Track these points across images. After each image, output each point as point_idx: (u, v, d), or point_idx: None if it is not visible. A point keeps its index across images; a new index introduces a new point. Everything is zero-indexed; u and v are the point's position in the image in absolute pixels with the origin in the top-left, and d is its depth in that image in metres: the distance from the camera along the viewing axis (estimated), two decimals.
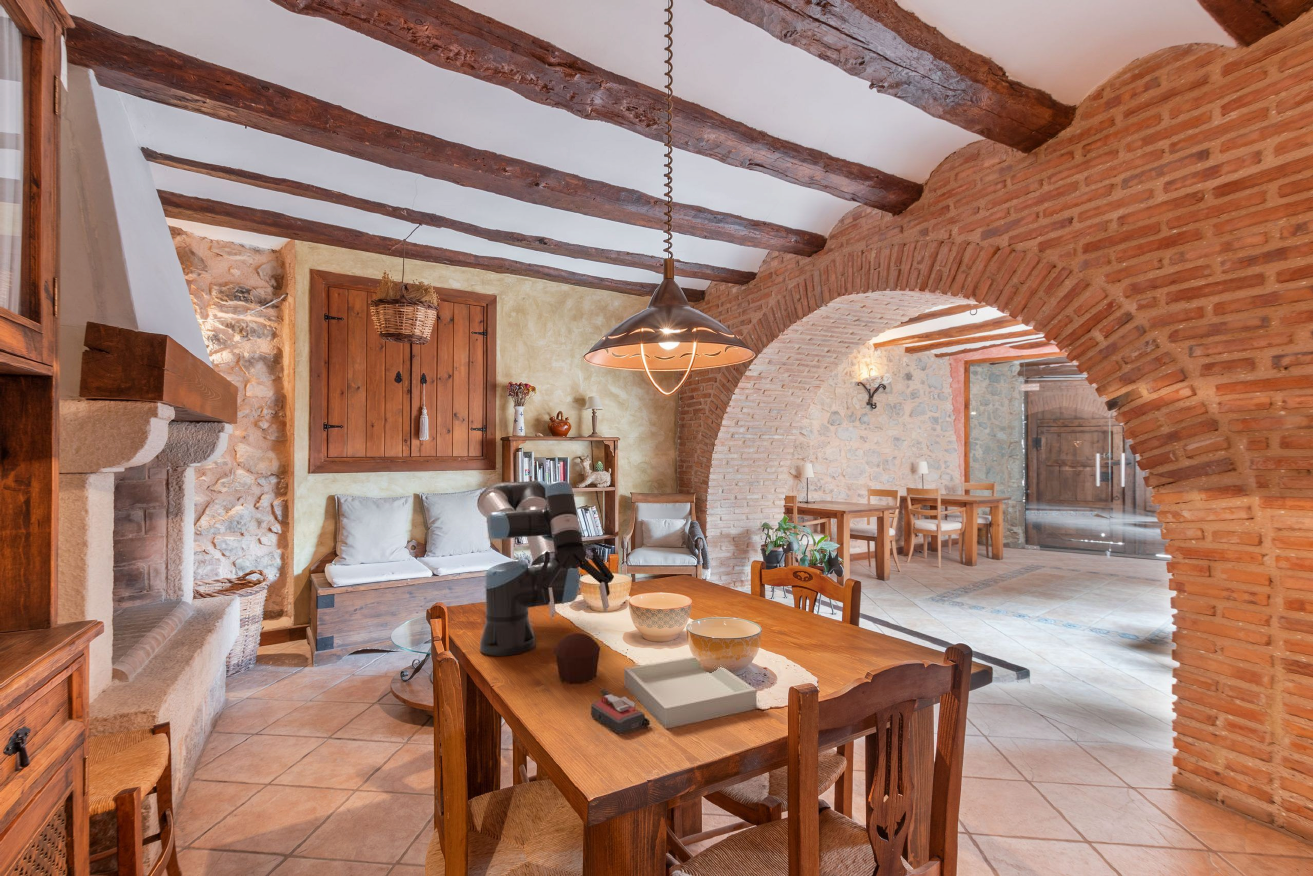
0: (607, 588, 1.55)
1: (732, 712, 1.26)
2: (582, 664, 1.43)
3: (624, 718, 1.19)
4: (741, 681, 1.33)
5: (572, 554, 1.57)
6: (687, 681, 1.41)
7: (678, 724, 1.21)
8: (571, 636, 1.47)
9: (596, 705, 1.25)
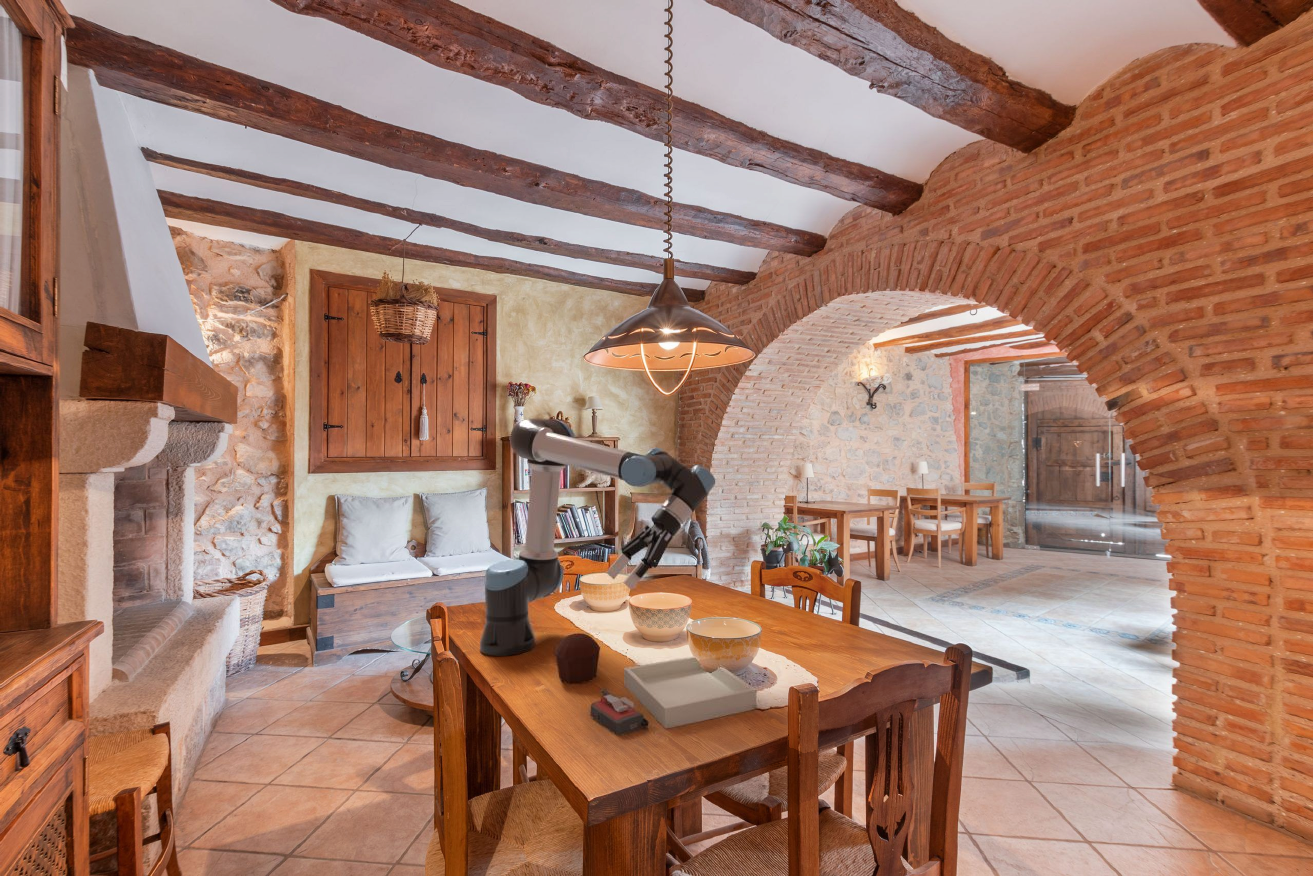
0: None
1: (732, 712, 1.26)
2: (582, 664, 1.43)
3: (623, 719, 1.19)
4: (741, 681, 1.33)
5: None
6: (687, 681, 1.41)
7: (678, 724, 1.21)
8: (571, 636, 1.47)
9: (595, 705, 1.25)
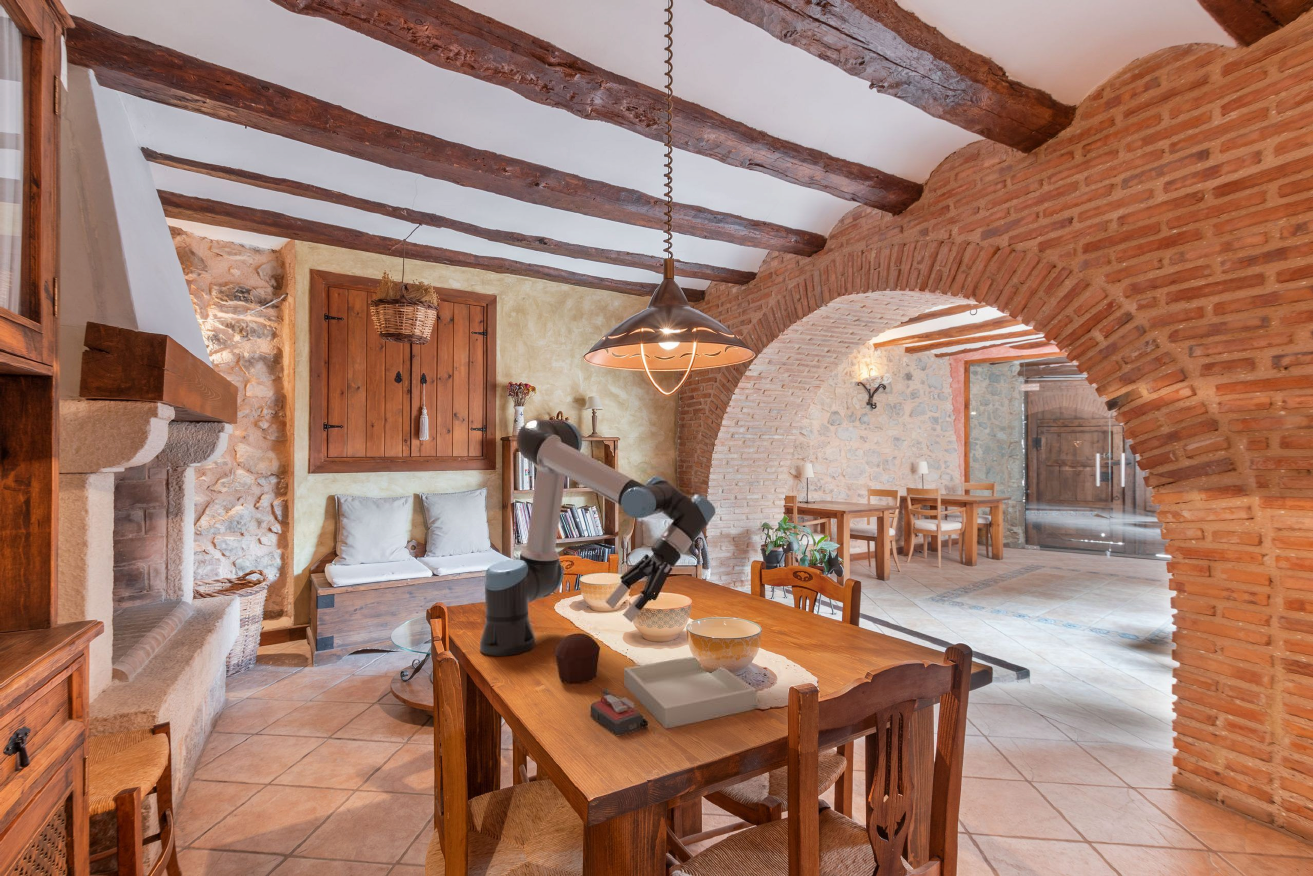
0: None
1: (732, 712, 1.26)
2: (582, 664, 1.43)
3: (622, 719, 1.18)
4: (741, 681, 1.33)
5: None
6: (687, 681, 1.41)
7: (678, 724, 1.21)
8: (571, 636, 1.47)
9: (595, 705, 1.25)
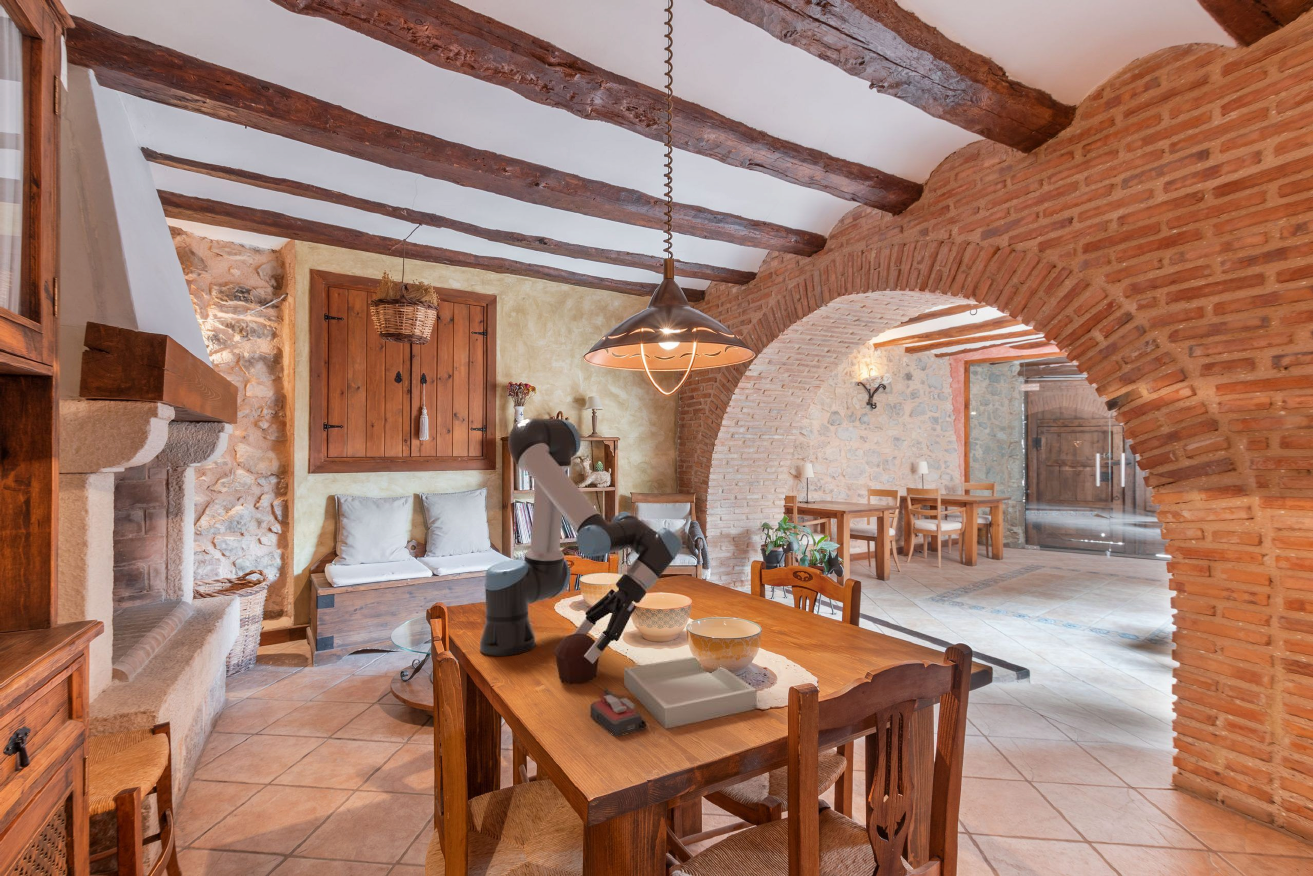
0: None
1: (732, 712, 1.26)
2: (582, 664, 1.43)
3: (620, 719, 1.18)
4: (741, 681, 1.33)
5: None
6: (687, 681, 1.41)
7: (678, 724, 1.21)
8: (571, 636, 1.47)
9: (595, 705, 1.25)
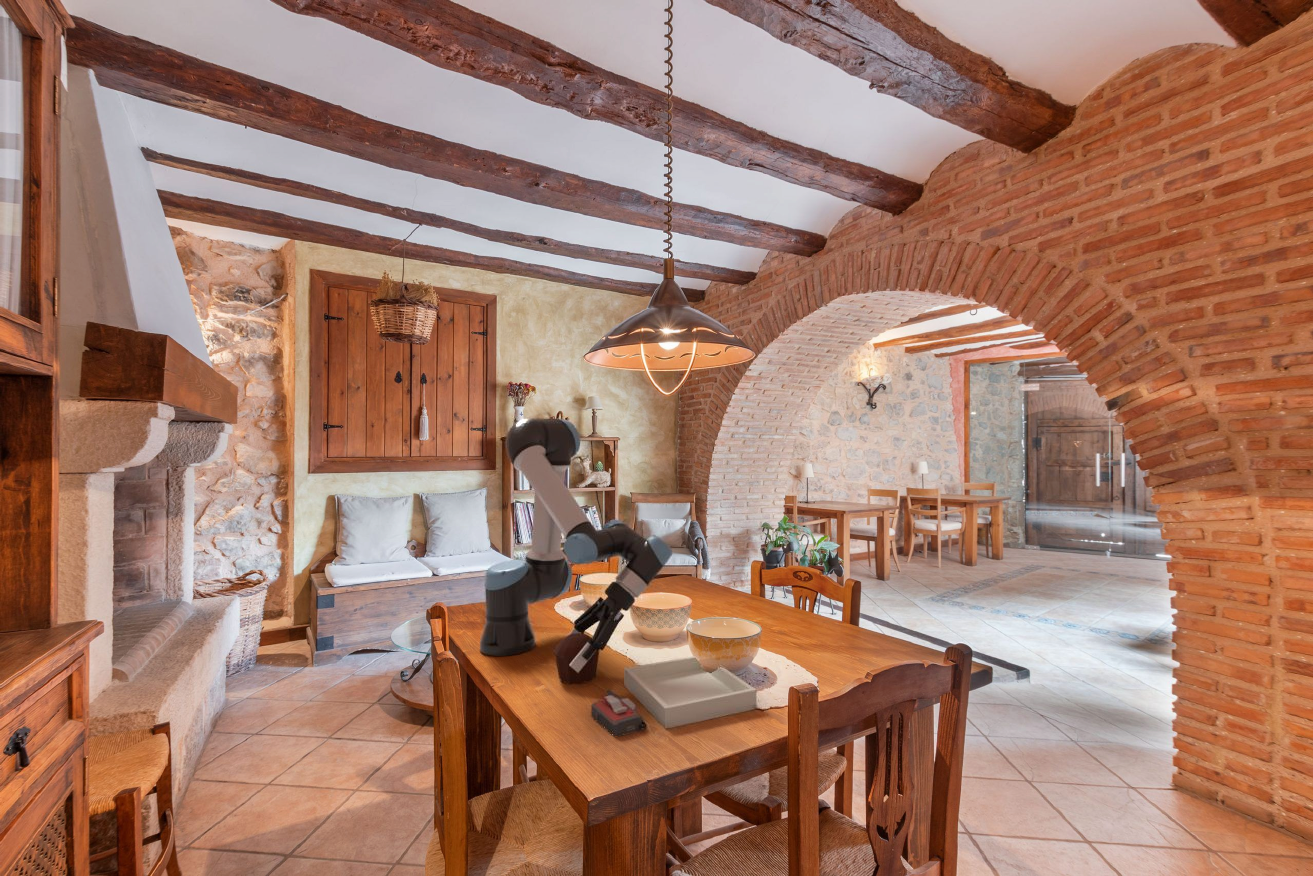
0: None
1: (732, 712, 1.26)
2: None
3: (620, 720, 1.18)
4: (741, 681, 1.33)
5: None
6: (687, 681, 1.41)
7: (678, 724, 1.21)
8: (571, 636, 1.47)
9: (596, 705, 1.25)
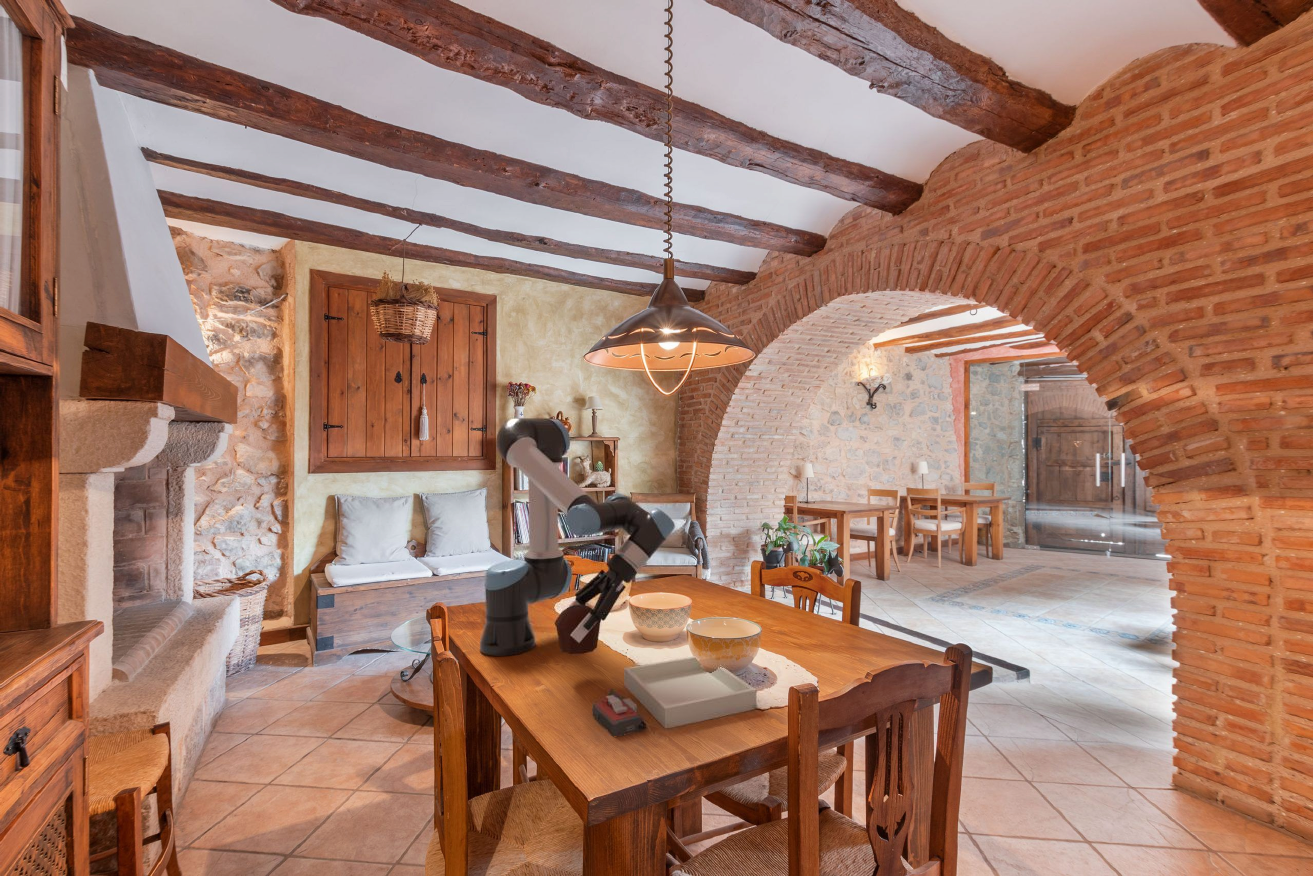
0: None
1: (732, 712, 1.26)
2: None
3: (619, 720, 1.18)
4: (741, 681, 1.33)
5: None
6: (687, 681, 1.41)
7: (678, 724, 1.21)
8: (572, 607, 1.47)
9: (597, 705, 1.25)
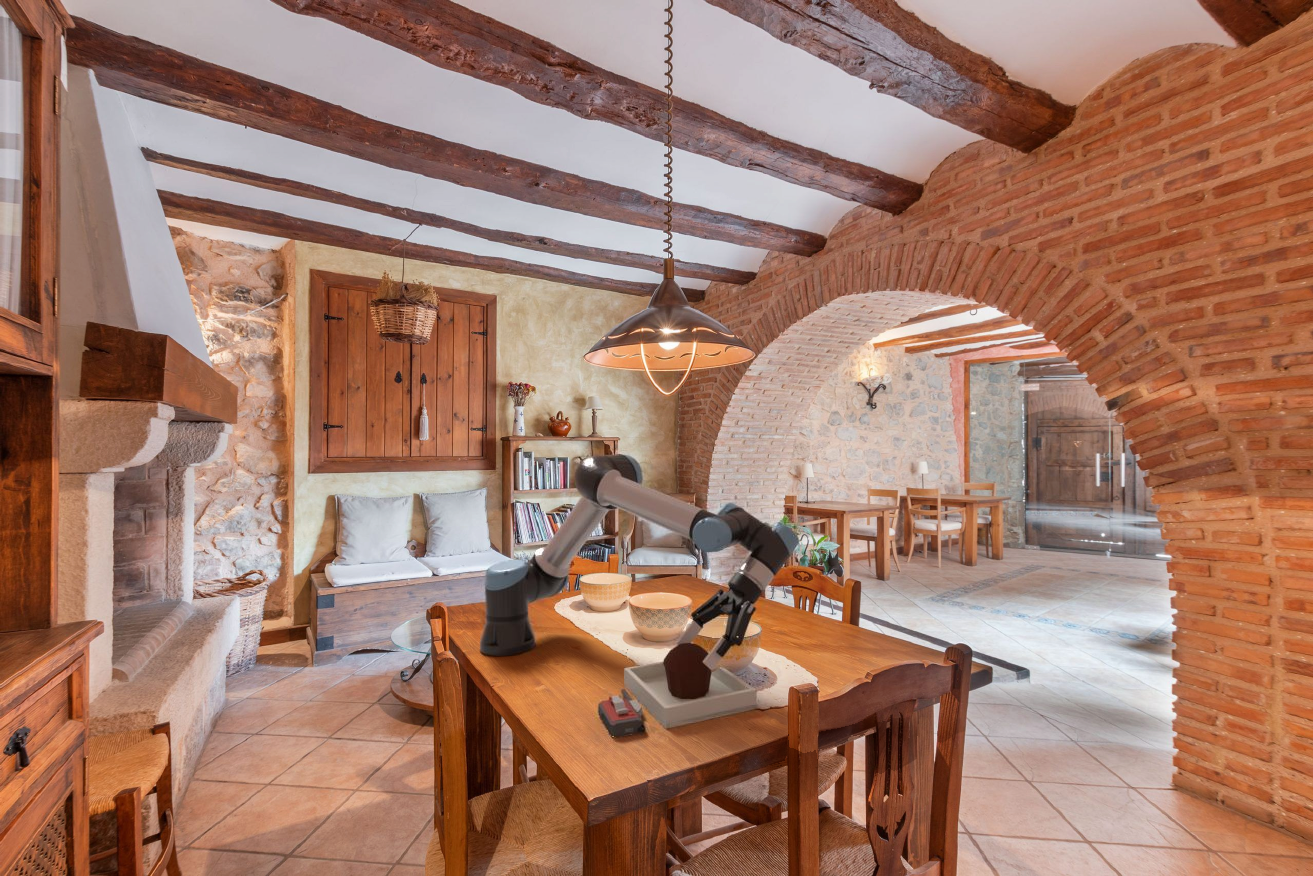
0: None
1: (732, 712, 1.26)
2: (696, 678, 1.30)
3: (618, 721, 1.18)
4: (741, 681, 1.33)
5: None
6: None
7: (678, 724, 1.21)
8: (682, 646, 1.35)
9: (602, 704, 1.26)
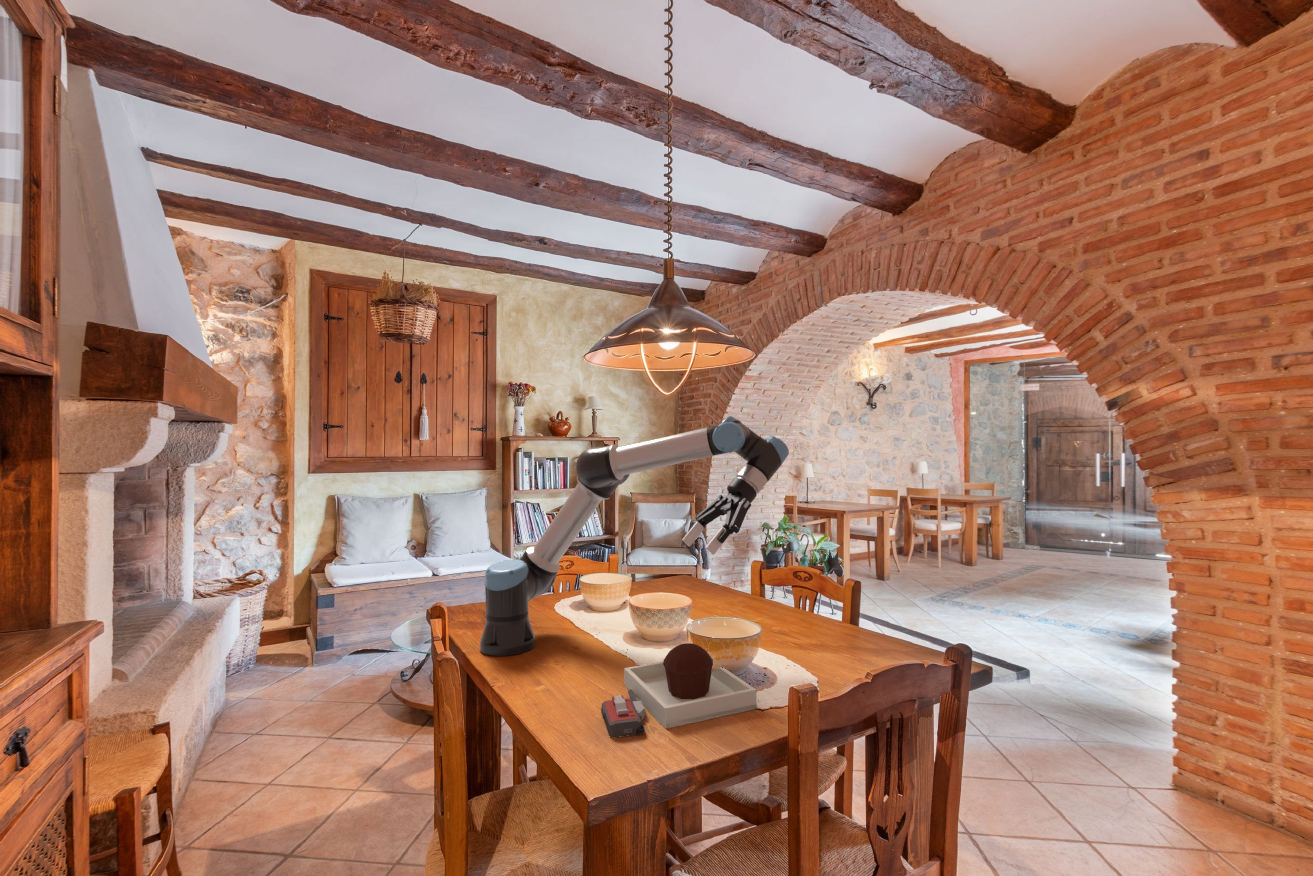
0: None
1: (732, 712, 1.26)
2: (695, 678, 1.30)
3: (616, 722, 1.17)
4: (741, 681, 1.33)
5: None
6: None
7: (678, 724, 1.21)
8: (681, 646, 1.35)
9: (605, 704, 1.26)
